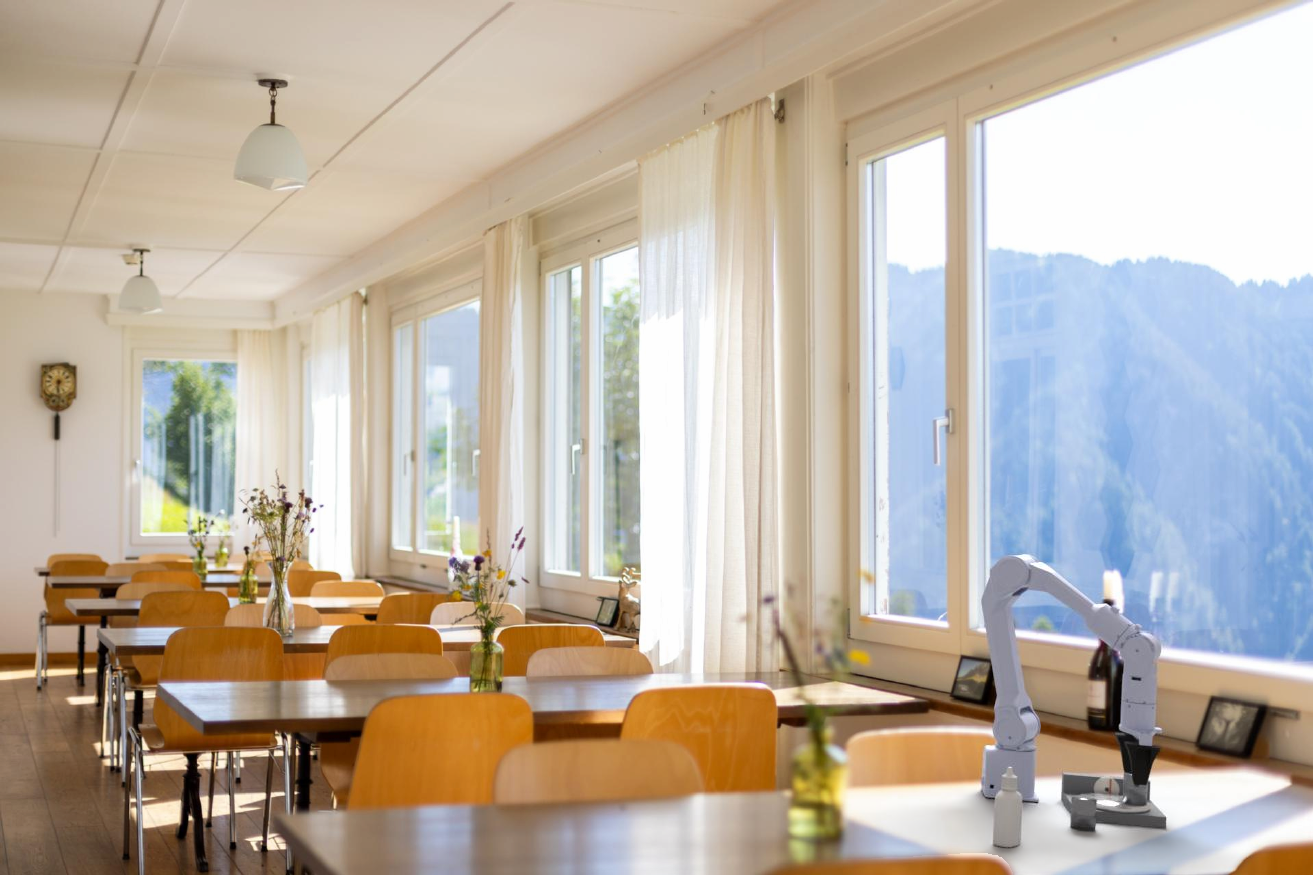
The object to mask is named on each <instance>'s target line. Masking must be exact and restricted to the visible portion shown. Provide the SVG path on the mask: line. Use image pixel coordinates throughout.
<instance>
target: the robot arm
mask: <svg viewBox="0 0 1313 875" xmlns="http://www.w3.org/2000/svg"><path fill="white" fill-rule="evenodd" d="M1027 591H1036V592H1043V593H1048V594H1049V595H1051V596H1052V597H1053V598H1055V599H1056V600H1058V601H1059V602H1060V603H1062V604H1064V605H1065V606H1067V607H1068V608H1069V609H1070V610H1071V611H1073V612H1076V614H1078V615H1079V616H1081V617H1082V618H1083V619H1084V621H1085V622H1084V623H1085V628H1086V630H1088V631H1089V632H1091V633H1092V634H1093V636H1094V635H1095V636H1096V637H1097V638H1098V639H1100V640H1101V641H1102V642H1104V643H1105V644H1106V645H1108V646H1109V647H1110V648H1111V649H1113V650H1114V651H1116V652H1117V651H1119V654H1120V658H1121V660H1122V661H1123V673H1122V681H1121V682H1122V683H1121V701H1120V702H1121V704H1120V723H1119V725H1118V729H1119V731H1121V732H1115V733H1114V736H1115V739H1116V741H1117V744H1118V747H1119V750H1120V755H1121V762H1122V768H1123V769H1122V770H1123V773H1124V772H1132V780H1133V783H1134V784H1136V785H1147V782H1148V780H1149V778H1150V775H1151V771H1152V767H1153V764H1154V762H1155V759H1156V758H1157V756H1158V754H1159V753H1160V751H1161V746H1159V745H1153V737H1154V736H1155V734H1156V735H1157V734H1163V729H1162V727H1158V726H1157V727H1156V717H1157V713H1156V712H1157V695H1158V694H1157V692H1158V691H1157V689H1158V675H1157V674H1158V662H1156V661H1158V660H1159V658H1160V656H1161V653H1162V646H1161V642H1160V640H1159V639H1158V637H1156V636H1155V634H1154V633H1153V632H1151V631H1148V630H1147V631H1146V630H1142V629H1143V626H1142V625H1141V624H1139V623H1136V624H1135V623H1134V622H1132V621H1131V620H1130V619H1128V618H1127V617H1126V616H1124V615H1123V614H1121V613H1120V610H1121V608H1120V607H1118V606H1117V605H1114V604H1113V605H1109V604H1108V603H1100V604H1096V602H1094V601H1093V600H1091V599H1090V598H1089V597H1087V596H1086V595H1085V594H1084V593H1082V592H1081V591H1080V590H1079V589H1078V588H1077V587H1075V586H1074V585H1073V584H1071V583H1070V582H1069V581H1067V580H1066V578H1064V577H1063V576H1061V575H1060V574H1059V573H1058V572H1057V571H1055V570H1054V569H1053V568H1051V567H1050V566H1049V565H1047V564H1046V563H1044V562H1042V561H1041V562H1039V560H1038V558H1036V557H1035V556H1033V555H1031V554H1028V553H1027V554H1020V555H1012V554H1011V555H1005V556H1003V557H1001V558H1000V559H999V560H997V561H996V563H995V564H994V565H993V566H992V567H991V568H990V569H989V577H988V581H987V583H986V585H985V588H984V591H983V594H982V596H981V599H980V600H981V601H980V602H981V603H980V604H981V607H982V608H981V610H982V615H983V620H984V621H983V622H984V626H985V627H984V628H985V633H986V640H987V643H988V644H987V646H988V649H989V656H990V662H991V666H992V673H993V679H994V686H995V692H996V699H995V704H994V707H993V711H994V720H993V724H992V734H993V737H994V740H995V744H991V745H990V744H987V745H984V746H983V751H982V752H983V753H982V769H981V770H982V771H981V778H980V784H981V786H980V787H981V791H982V792H983V795H984V797H986V798H990V799H993V798H994V799H995V797H996V795H997V793H998V792H999V791H1000V790H1001V789H1002V788H1001V781H1002V775H1004V774H1006V772H1007V768H1008V767H1012V769H1013V774H1014V775H1015V776H1017V777H1018V780H1017V790H1016V791H1018V792H1019V793H1020V794H1021V795H1022V801H1026V802H1036V803H1037V802H1039V801H1040V800H1039V797H1038V795H1037V793H1036V792H1035V785H1036V783H1035V781H1036V763H1037V762H1036V760H1037V745H1036V743H1035V739H1036V738H1037V737H1038V736H1039V734H1040V732H1041V721H1040V718H1039V716H1038V714H1036V712H1035V710H1034V708H1033V703H1032V700H1031V698H1030V697H1029V695H1028V693H1027V692H1026V685H1025V680H1024V675H1023V674H1024V673H1023V671H1022V670H1023V668H1022V663H1021V658H1020V652H1019V646H1018V641H1017V635H1016V628H1015V624H1014V618H1013V617H1014V616H1013V613H1012V612H1013V611H1012V607H1013V605H1014V604H1015V603H1016V602H1017V601H1018V600H1019V598H1020V597H1021V596H1022V594H1024V593H1025V592H1027Z"/></svg>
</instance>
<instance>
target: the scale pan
mask: <svg viewBox="0 0 1313 875" xmlns="http://www.w3.org/2000/svg"><path fill="white" fill-rule="evenodd" d="M1081 796H1089V797H1093V798H1095V799H1097V804H1096V809H1098V810H1103V811H1109V812H1116V813H1131V814H1135V813H1145V812H1148V811H1150V804H1149V803H1147V805H1146V806H1135V805H1129V804H1126V803H1123V795H1117V794H1108V793H1085V794H1081Z"/></svg>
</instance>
